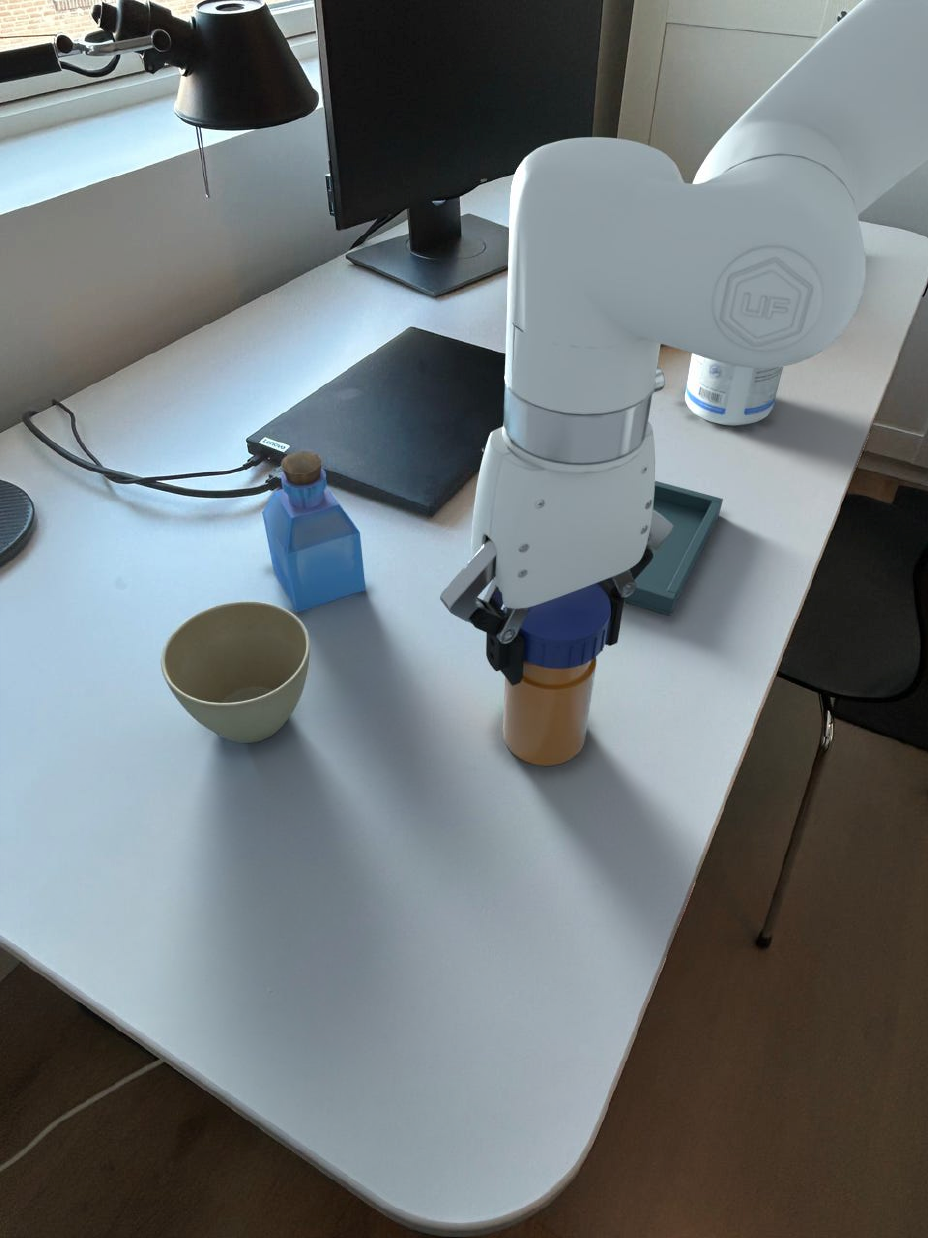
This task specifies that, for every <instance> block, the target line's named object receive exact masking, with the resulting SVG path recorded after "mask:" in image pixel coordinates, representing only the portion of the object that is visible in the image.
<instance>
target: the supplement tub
mask: <svg viewBox="0 0 928 1238" xmlns="http://www.w3.org/2000/svg"><path fill="white" fill-rule="evenodd" d="M783 370H784V366H783V367H774V368H751V367H742V366H736V365H731V364H727V363H723V362H719V361H715V360H712V359H708V358H705V357H702V356H698V355H695V354H692V353H691V359H690V365H689V371H688V376H687V383H686V389H685V394H684V399H685V403H686V405H687V407H688V409H690V411H692V412H693V413H694V414H695V416H696V415H697V416H698V417H700V418H701V419H703V420H706V421H709V422H711V423H716V424H718V425H724V426H744V425H749V424H753V423H757V422H759V421H762V420H763V419H765V418H766V417H767V416H768V415H770V414H771V412H772V410H773V408H774V405H775V401H776V399H777V393H778V390H779V387H780V382H781V378H782V375H783Z"/></svg>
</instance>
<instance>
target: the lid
mask: <svg viewBox="0 0 928 1238" xmlns="http://www.w3.org/2000/svg"><path fill="white" fill-rule="evenodd" d="M507 609H508V608H507V607H506V606H505V605H504V606H502V610H504V611H505V612H506V611H507ZM610 618H611V604H610V600H609V598H608V596H607V594H606V592H605V591H604V590H603V588H602V587H601V586H600V585H598V584H597V583H595V584H592V585H590V586H587V587H584V588H582V589H579V590H576V591H574V592H571V593H568V594H566V595H563V596H560V597H558V598H555V599H552V600H549V601H546V602H544V603H541V604H538V605H535V606H532V607H531V609H530V611H529V613H528V615H527V616H526V618H525V620H524V622H523V624H522V626H521V628H520V630H519V633H520V634H521V635H522V637H523V638H524V640H525V650H524V660H525V661H527V662H529V663H531V664H534V665H537V666H540V667H544V668H551V669H567V668H573V667H577V666H580V665H583V664H585V663H588V662H589V661H591V660H593V659H594V658H595V657H596V658H597V657H598V656H599V655H600V654H601V653H602V652H603V651H604V647H605V646H606V645H605V643H606V642H607V640H608V633H609V627H610Z"/></svg>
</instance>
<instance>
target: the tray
mask: <svg viewBox="0 0 928 1238" xmlns="http://www.w3.org/2000/svg"><path fill="white" fill-rule="evenodd" d="M723 501H724V499H723V498H721V497H718V496H714V495H711V494H707V493H703V492H698V491H695V490H691V489H687V488H684V487H680V486H676V485H673V484H668V483H665V482H661V481H657V480H655V490H654V502H653V510H655V511H656V512H658V513H660V514H661V515H662V516H663V517H664V518H666V519H667V520H668V521H669V522H670V523H671V524H672V525H673V531H672V532H671V534H670V535H669V536H668V537H667V538H666V540H665V541H664V542H663V543H662V544H661V546H660V547H659V548H658V549H657V550H656V551H655V550H654V551H653V552H652V553H653V558H652V560H651V562H650V563H649V564H648V565H647V566H646V568H645V569H644V570H643V571H642V572H641V573H640V574H639V576H638V577H637V578H636V579H635V580H634V581H635V584H636V588H635V590H634V592H633V593H632V594H631V595H630V596H628V597H625V598H624V603H628V604H630V605H634V606H637V607H640V608H643V609H646V610H650V611H653V612H656V613H659V614H661V615H662V614H663V615H665V616H669V617H670V616H671V615H672V612H673V610H674V608H675V606H676V604H677V602H678V600H679V599H680V596H681V594H682V592H683V590H684V588H685V586H686V584H687V582H688V579H689V577H690V576H691V573H692V571H693V570H694V568H695V566H696V563H697V561H698V559H699V557H700V555H701V553H702V552H703V549H704V547H705V545H706V543H707V541H708V539H709V537H710V535H711V533H712V531H713V529H714V527H715V525H716V523H717V521H718V518H719V516H720V514H721V509H722V505H723Z"/></svg>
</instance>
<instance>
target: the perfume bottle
mask: <svg viewBox="0 0 928 1238" xmlns="http://www.w3.org/2000/svg"><path fill="white" fill-rule="evenodd" d="M322 463H323V459H322V456H320V455H319V454H317V453H316V452H313V451H307V450H304V451H303V450H300V451H295V452H292V453H289V454H287V455H286V456H284V457H283V459H282V460H281V462H280V466H281V468H282V471H283V472H282V473H281V477H280V478H281V485H282V489H279V490H275V491H274V492H273V494H272V495H271V497H270V499H269V501H267V504H266V505H265V507H264V508H263V510H262V518H263V523H264V529H265V534H266V539H267V544H268V549H269V555H270V560H271V565H272V570H273V572H274V573H275V575H276V577H277V579H278V581H279V582H280V584H281V587H282V588H283V590H284V592H285V593H286V596H287V597H288V599H289V601H290V603H291V604H292V606H293V608H294V610H295V612H296V613H300V612H302V611H306V610H308V609H312V608H315V607H318V606H320V605H323V604H326V603H330V602H333V601H335V600H339V599H343V598H346V597H348V596H352V595H354V594H357V593H360V592H363V591H366V590H367V589H366V579H365V568H364V560H363V549H362V548H363V547H362V540H361V532H360V530H359V529H358V527H357V526H356V524H355V523H354V521H353V520H352V519H351V517H350V516H349V515H348V513H347V512H346V510H345V509H344V508H343V506H342V504H341V503H340V501H339V500H338V499H337V497H336V496H335V495H334V493H333V492H332V491H331V489H330V487H328V485H327V484H328V481H327V474H326V471H325V469H324V468H323V467H322V466H323V465H322Z"/></svg>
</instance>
